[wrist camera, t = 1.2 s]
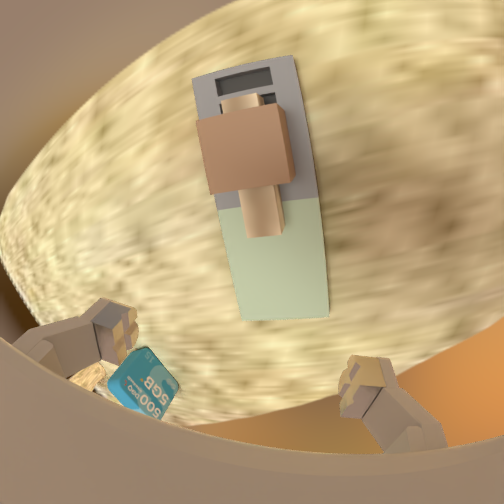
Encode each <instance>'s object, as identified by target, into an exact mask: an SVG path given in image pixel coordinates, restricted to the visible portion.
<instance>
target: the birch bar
mask: <svg viewBox="0 0 504 504" xmlns="http://www.w3.org/2000/svg"><path fill="white" fill-rule="evenodd" d="M221 104H222V110H223V114H225V113H229V112H233V111H238V110H242V109H247V108H252V107H257V106H262V105H265V104H264V99H263V98H262V97H261V96H260V95H259V94H257V93H253V94H248V95H243V96H239V97H235V98H230V99H226V100H222V101H221ZM238 193H239V198H240V203H241V209H242V214H243V219H244V224H245V229H246V234H247V238H256V237H265V236H275V235H282V232H283V230H284V228H285V218H284V212H283V205H282V199H281V193H280V187H279V184H277V185H270V186H262V187H256V188H249V189H242V190H238Z"/></svg>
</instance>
